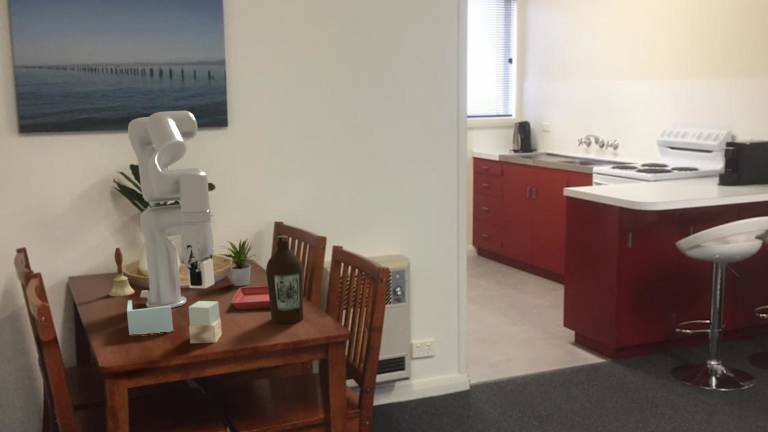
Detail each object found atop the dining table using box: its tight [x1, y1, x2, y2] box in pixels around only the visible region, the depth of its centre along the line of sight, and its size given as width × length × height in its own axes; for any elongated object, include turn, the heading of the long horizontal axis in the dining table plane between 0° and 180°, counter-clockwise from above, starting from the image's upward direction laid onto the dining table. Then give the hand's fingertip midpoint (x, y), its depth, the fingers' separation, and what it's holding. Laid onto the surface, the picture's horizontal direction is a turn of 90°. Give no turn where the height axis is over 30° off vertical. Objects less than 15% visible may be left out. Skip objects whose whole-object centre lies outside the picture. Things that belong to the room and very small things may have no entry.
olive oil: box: [265, 235, 304, 325], centre depth 235 cm, size 11×11×25 cm
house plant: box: [218, 237, 256, 287], centre depth 280 cm, size 14×14×16 cm
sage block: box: [188, 300, 221, 326], centre depth 221 cm, size 6×6×5 cm
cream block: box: [187, 258, 216, 289], centre depth 219 cm, size 5×5×7 cm
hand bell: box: [108, 247, 136, 297], centre depth 273 cm, size 8×8×16 cm
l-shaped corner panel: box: [126, 299, 174, 335], centre depth 233 cm, size 12×12×8 cm
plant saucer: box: [230, 285, 270, 310], centre depth 257 cm, size 18×18×3 cm
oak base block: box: [188, 317, 223, 344], centre depth 222 cm, size 7×7×5 cm
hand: (201, 282), depth 219 cm, fingers closed on cream block, 5 cm apart
